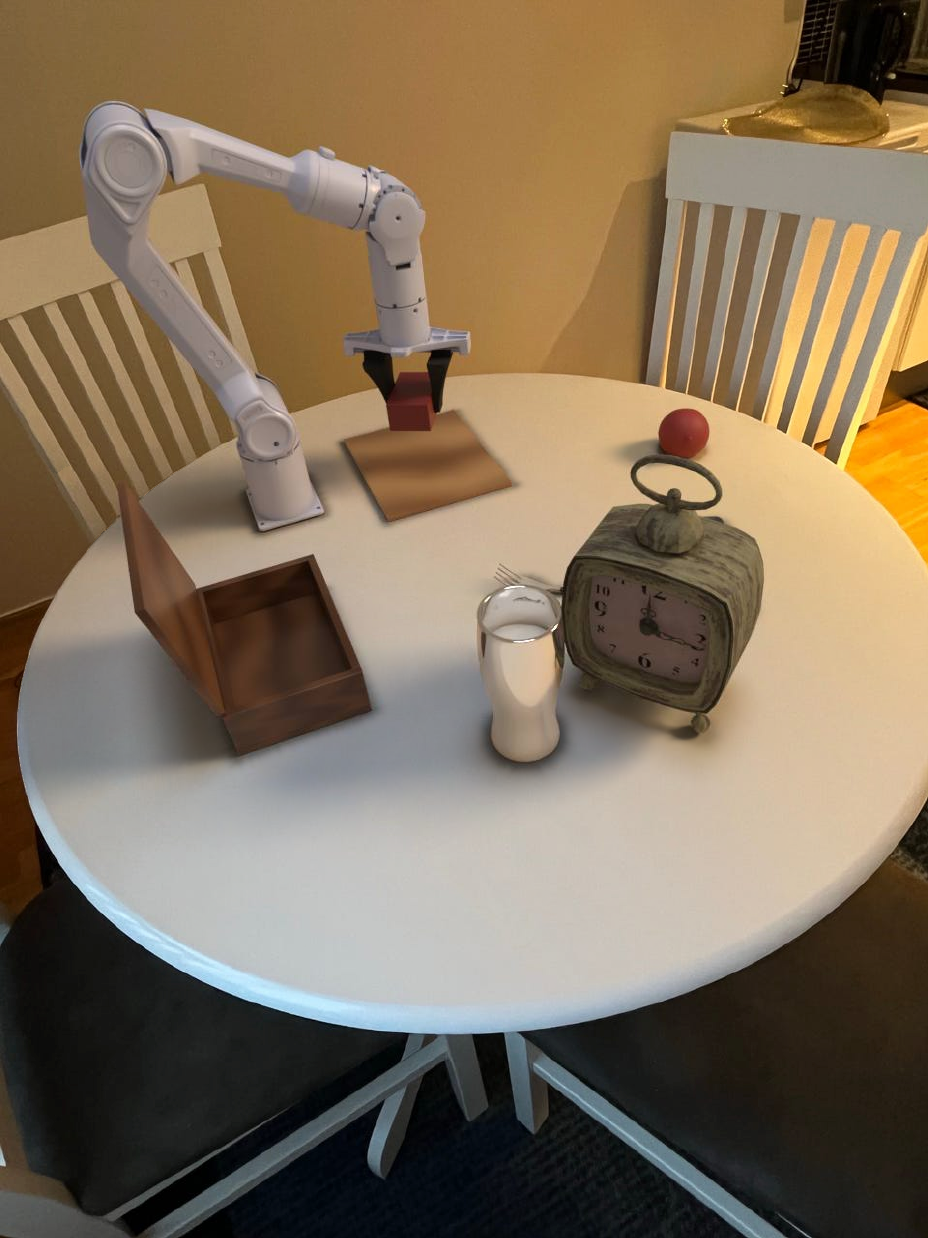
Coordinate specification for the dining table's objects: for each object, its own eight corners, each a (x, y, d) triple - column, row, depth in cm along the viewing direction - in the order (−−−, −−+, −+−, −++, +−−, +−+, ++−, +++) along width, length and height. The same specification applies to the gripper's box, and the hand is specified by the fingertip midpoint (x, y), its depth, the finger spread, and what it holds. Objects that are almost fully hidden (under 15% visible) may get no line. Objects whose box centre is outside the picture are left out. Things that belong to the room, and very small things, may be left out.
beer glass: (541, 779, 70) (537, 656, 60) (471, 747, 73) (456, 625, 63) (578, 722, 74) (580, 598, 64) (510, 695, 77) (502, 572, 67)
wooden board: (344, 442, 113) (343, 439, 112) (454, 412, 116) (454, 409, 116) (388, 522, 99) (387, 518, 98) (511, 485, 102) (511, 482, 102)
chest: (323, 591, 90) (313, 553, 87) (372, 710, 78) (362, 671, 74) (208, 626, 88) (193, 589, 84) (238, 756, 75) (222, 718, 71)
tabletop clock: (561, 693, 77) (560, 463, 60) (602, 632, 82) (613, 405, 65) (713, 752, 71) (761, 515, 54) (747, 682, 76) (801, 446, 59)
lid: (124, 481, 74) (116, 484, 74) (144, 607, 61) (134, 612, 61) (195, 584, 84) (188, 587, 84) (225, 713, 71) (216, 717, 71)
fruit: (656, 470, 105) (662, 439, 98) (656, 429, 107) (662, 396, 99) (706, 470, 105) (716, 439, 97) (705, 429, 106) (715, 395, 99)
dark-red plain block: (389, 431, 99) (385, 404, 97) (403, 397, 105) (399, 371, 102) (431, 431, 98) (427, 404, 96) (442, 397, 104) (439, 371, 101)
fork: (646, 613, 84) (647, 598, 83) (494, 591, 88) (493, 577, 87) (649, 596, 86) (651, 581, 84) (500, 575, 90) (499, 561, 89)
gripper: (327, 314, 90) (349, 425, 99) (459, 312, 87) (469, 426, 97) (344, 287, 95) (363, 395, 104) (469, 284, 92) (478, 395, 102)
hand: (415, 408), depth 101 cm, fingers closed on dark-red plain block, 5 cm apart
